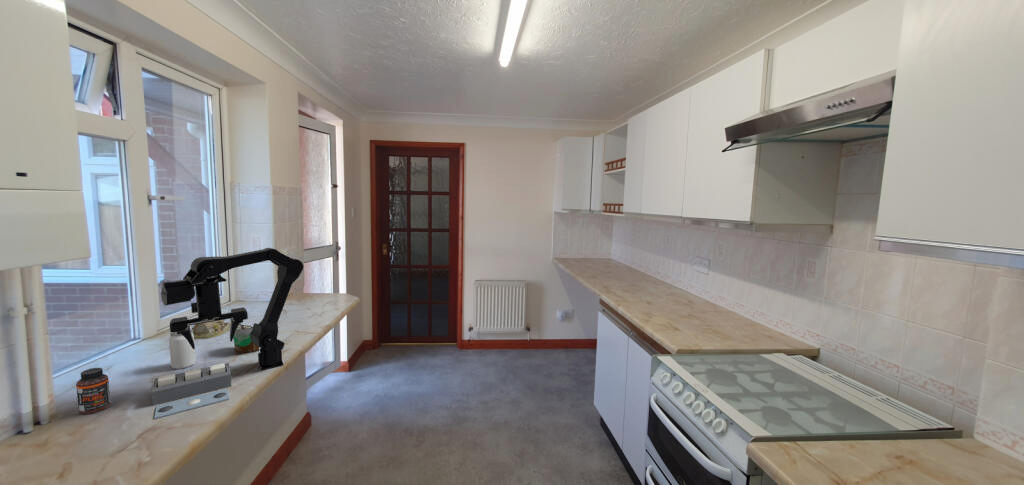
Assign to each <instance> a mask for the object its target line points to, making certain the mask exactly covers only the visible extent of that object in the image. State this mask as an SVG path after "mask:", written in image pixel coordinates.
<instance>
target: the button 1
mask: <svg viewBox="0 0 1024 485" xmlns="http://www.w3.org/2000/svg"><path fill="white" fill-rule="evenodd" d="M175 374H176V373H172V374H171V373H170V374H166V375H161V376H158V377H157V378H158V387H160V386H165V385H169V384H174V383H175V380H176V379H175Z"/></svg>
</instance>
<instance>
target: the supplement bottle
mask: <svg viewBox="0 0 1024 485" xmlns="http://www.w3.org/2000/svg"><path fill="white" fill-rule="evenodd" d="M75 385H76V387H75V388H76V397H77V398H76V399H77V406H78V407H77V408H78V412H79V414H81V415H89V414H95V413H98V412H100V411H103V410H105V409H107V408H108V407H110V405H111V402H112V401H111V392H110V391H111V390H110V383H109V375H107V374H104V373H103V368H102V367H93V368H89V369H86V370H83V371H81V372H80V379H79V380H78V381H76V384H75Z"/></svg>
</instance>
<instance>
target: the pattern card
mask: <svg viewBox="0 0 1024 485" xmlns="http://www.w3.org/2000/svg"><path fill="white" fill-rule="evenodd" d="M229 400H230V395H229V388H223V389H219V390H215V391H211V392H207V393H203V394H199V395H195V396H191V397H187V398H182V399H178V400H174V401H173V402H172V401H170V402H166V403H162V404H160V405H159V404H158V405H157V406H156V408H155V413H154V416H153V419H154V420H156V419H160V418H164V417H168V416H172V415H176V414H180V413H183V412H188V411H191V410H195V409H199V408H202V407H206V406H210V405H214V404H217V403H222V402H225V401H229Z"/></svg>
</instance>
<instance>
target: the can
mask: <svg viewBox="0 0 1024 485" xmlns="http://www.w3.org/2000/svg"><path fill="white" fill-rule="evenodd" d="M191 334H192V337H193V340H194V341H195V339H194V335H193V330H191ZM169 335H170V336H169V339H168V344H169V354H170V355H169V356H170V365H171V369H174V370H182V369H187V368H191V367H192V366H194V365H195V364H196V363H197V360H196V358H197V357H196V348H195V349H193V348H192V347H191V345H190V344H189V342H188V341H187V339H186V338H185V337H184V336H183V335H182V334H177V332H170V334H169ZM195 344H196V343H194V345H195ZM195 346H196V345H195Z"/></svg>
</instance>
